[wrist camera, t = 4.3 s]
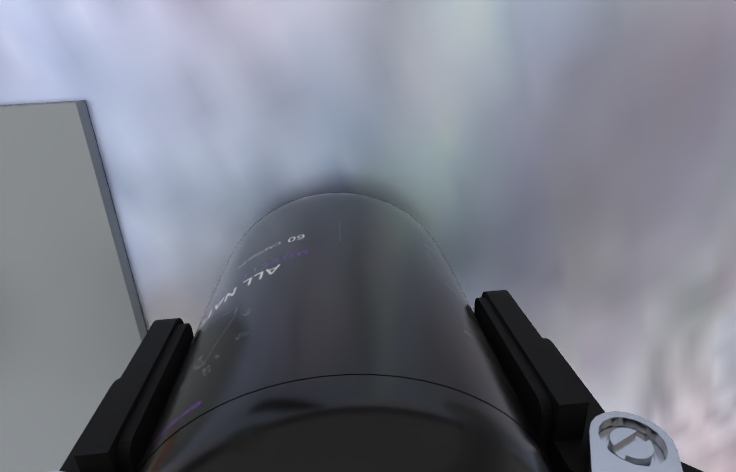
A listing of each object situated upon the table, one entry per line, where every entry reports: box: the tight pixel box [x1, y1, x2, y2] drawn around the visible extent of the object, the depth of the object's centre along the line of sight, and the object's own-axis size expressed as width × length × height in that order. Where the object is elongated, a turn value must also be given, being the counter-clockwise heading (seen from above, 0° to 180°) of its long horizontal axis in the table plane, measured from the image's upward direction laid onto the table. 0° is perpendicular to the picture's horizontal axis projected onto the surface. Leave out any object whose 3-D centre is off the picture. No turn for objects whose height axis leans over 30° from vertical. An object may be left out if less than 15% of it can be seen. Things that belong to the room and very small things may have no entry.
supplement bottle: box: [135, 193, 555, 472], centre depth 9 cm, size 7×7×12 cm
